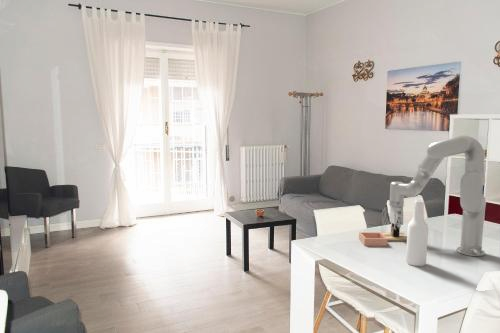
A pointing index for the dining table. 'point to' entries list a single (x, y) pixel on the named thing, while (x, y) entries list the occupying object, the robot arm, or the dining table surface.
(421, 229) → the alcohol
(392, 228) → the lid
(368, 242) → the dish
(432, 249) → the dining table surface
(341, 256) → the dining table surface
